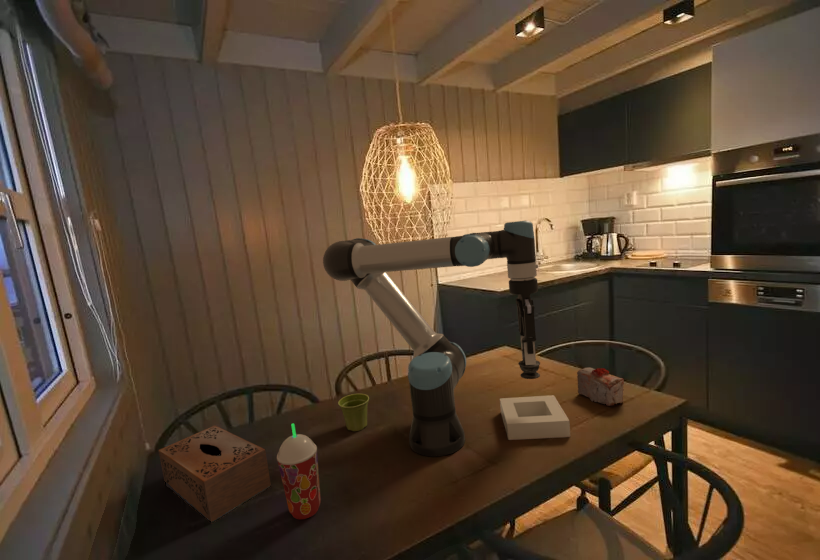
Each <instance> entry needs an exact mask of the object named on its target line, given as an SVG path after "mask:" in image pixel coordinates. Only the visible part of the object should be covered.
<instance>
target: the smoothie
mask: <svg viewBox="0 0 820 560" xmlns="http://www.w3.org/2000/svg"><path fill="white" fill-rule="evenodd" d="M290 426H291V430H292V431H291V432H292V435H290V436H288V437H287V438H286V439H285V440H283V442H282V443H281V445H280V447H279V449H278V452H277V455H276V461H277V466H278V469H279V472H280V477H281V482H282V486H283V490H284V495H285V499H286V504H287V508H288V512H289V514H291V515H292V517H293V518H295V519H297V520H306V519H308V518H311V517H313V516H314V515H315V514H317V512H318V511H319V508H320V506H321V501H322V499H321V498H322V497H321V487H320V477H319V462H318V461H319V459H318V446H317V445H316V444H315V443H314V441H313V440H312V439H311V438H309V436H308V435H305V434H301V433H297V432H296V425H295V423H291V425H290Z"/></svg>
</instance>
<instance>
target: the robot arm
mask: <svg viewBox="0 0 820 560" xmlns="http://www.w3.org/2000/svg"><path fill="white" fill-rule="evenodd" d="M503 226H504V227H503V229H501V230H497V231H496V230H493V231H483V232H471V233H464V234H462V235H458V236H448V237H447V236H445V237H439V238H438V237H437V238H430V239H429V238H428V239H419V240H410V241H398V242H391V243H390V242H389V243H381V244H377V243H375V242H374V241H372V240H370V239H367V238H361V237H360V238H359V237H356V238H353V239H349V240H338V241H335V242H333V243H331V244H330V245H329V246H328V247H327V248H326V249H325V252H324V254H323V256H322V266H323V268H324V271H325V272H326V273H327V275H328V276H329V277H331V278H332V279H334V280H336V281H340V282H345V281H351V283H352V284H353V285H354V286H355V288H356V289H357V290H363V291H365V292H366V293H367V295H368V297H370V299H371V300H373V302H374V303H375V304H376V306H377V307H378V309H379V310H380V311H381V312H382V314H384V316H385V317H386V318H387V320H388V321H389V322H390V323H391V324H392V325H393V327H394V328H395V330H396V331H397V332H398V333H399V334H400V335H401V337H402V338H403V340H404V341H405V342H406V343H407V345H408V346H409V348H411V349H412V350H413V358H412V359H411V360H410V361H409V364H408V369H407V371H408V373H407V377H408V379H407V380H408V385H409V392H410V399H411V407H412V409H411V410H412V421H411V426H410V431H409V435H408V439H409V447H410V448H411V450H412V451H413V452H414V453H417V454H419V455H420V456H421V455H422V456H426V457H443V456H448V455H450V454H454V453H455V452H457V451H459V450H460V449H462V447H463V446H464V445H465V442H466V437H465V436H466V435H465V430H464V428H463V425H462V423H461V421H460V418H459V416H458V414H457V411H456V400H455V388H456V386H458V383H459V381H460V380H461V379H462V377H463V376H464V374H465V372H466V367H467V357H466V354H465V352H464V350H463V349H462V347H461V346H460V345H459V344H458V343H456V342H453V341H450V340H449V339H448V338H447V337H446V336H445V335H444V333H438V332H435V330H434V329H433V328H432V326H431V325H430V324H429V323H428V322H427V320H426V319H425V318H424V317H423V315H422V314H421V312H419V310H417V308H416V307H415V306H414V305H413V303H412V302H411V301H410V300H409V298H408V297H407V296H406V295H405V293H404V291H402V290H401V289H400V288H399V287H400V286H398V285H397V284H396V282H395V281H394V279H392V277H391V276H390V275H389V274H388V273H390V272H392V273H393V272H403V271H414V270H425V269H426V270H428V269H437V268H438V269H439V268H440V269H441V268H451V267H470V268H472V267H478V266H481V265H483V263H485V262H486V261H487V260H495V259H496V260H497V259H504V258H506V266H507V267H506V269H507V278H508V279H509V280H508V290H509V293H510V294H511V295H514V296H515V295H517V297H516V298H515V304H516V308H517V309H516V311H517V323H518V331H519V335H520V345H521V347H520V348H521V349H520V350H521V357H522V360H523V351H522V349H523V342H524V352H525V364H526V365H535V364H536V360H537V359H536V358H537V356H536V346H535V343H536V342H537V335H536V323H535V321H536V320H535V305H534V300H533V299H532V298H531V294H535V293H537V292H538V291H539V284H538V279H537V278H536V277H537V276H538V272H537V269H538V268H539V265H538V264H537V258H536V237H535V232H534V225H533V222H532V221H531V220H518V221H509V222H505V223H504V225H503ZM523 338H524V340H522V339H523Z"/></svg>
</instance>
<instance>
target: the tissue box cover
mask: <svg viewBox="0 0 820 560" xmlns="http://www.w3.org/2000/svg"><path fill="white" fill-rule="evenodd" d="M219 454H220V455H221V456H217V455H219ZM158 456H159V461H160V465H161V470H162V475H163V481H165V482H166V483H168V484H169V485H170V486H171V487H172V488H173V489H174V490H175V491H176V492H177V493H179V494H180V495H181V496H182V497H183V498H184V499H186V500H187V501H188V502H189V503H190V504H192V505H193V506H194V507H195V508H196V509H197V510H198V511H199V512H201V513H202V514H203V515H204V516H205V517H206V518H208V519H209V520H210V521H211V522H212V521H214V520H216V519H217V518H218V517H220V516H222V515H223V514H225V513H226V512H228V511H229V510H231V509H233V508H234V507H236V506H238V505H239V504H241V503H242V502H244V501H246V500H247V499H249V498H251V497H252V496H254V495H255V494H257V493H258V492H260V491H262V490H263V489H265V488H267V487H268V486H270V485H271V484H272V483H271V478H270V472H269V471H270V470H269V464H268V459H267V453H266V448H264V447H261V446H260V445H256V444H255V443H253V442H251V441H248V440H247V439H244V438H242V437H240V436H238V435H236V434H234V433H232V432H230V431H228V430H226V429H223V428H221V427H219V426H218V425H216V424H215V425H212V426H210V427H208V428H205V429H203V430H201V431H199V432H196V433H195V434H192V435H190V436H189V435H188V436H187V437H185V438H182V439H181V440H178V441H176V442H174V443H172V444H169V445H167V446H165V447H162V448H160V449H158ZM165 482H164V483H165ZM271 486H272V485H271ZM206 518H205V519H206Z"/></svg>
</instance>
